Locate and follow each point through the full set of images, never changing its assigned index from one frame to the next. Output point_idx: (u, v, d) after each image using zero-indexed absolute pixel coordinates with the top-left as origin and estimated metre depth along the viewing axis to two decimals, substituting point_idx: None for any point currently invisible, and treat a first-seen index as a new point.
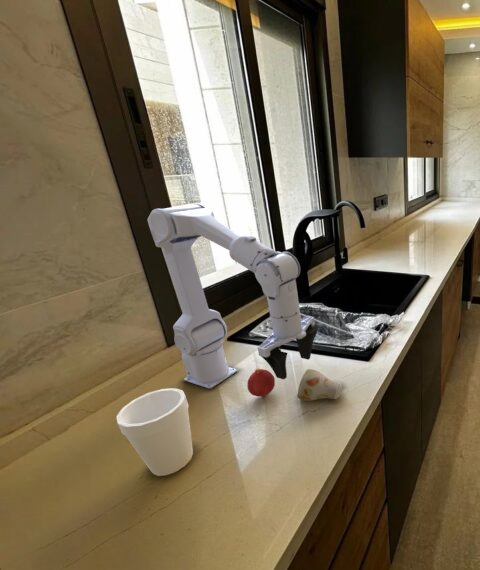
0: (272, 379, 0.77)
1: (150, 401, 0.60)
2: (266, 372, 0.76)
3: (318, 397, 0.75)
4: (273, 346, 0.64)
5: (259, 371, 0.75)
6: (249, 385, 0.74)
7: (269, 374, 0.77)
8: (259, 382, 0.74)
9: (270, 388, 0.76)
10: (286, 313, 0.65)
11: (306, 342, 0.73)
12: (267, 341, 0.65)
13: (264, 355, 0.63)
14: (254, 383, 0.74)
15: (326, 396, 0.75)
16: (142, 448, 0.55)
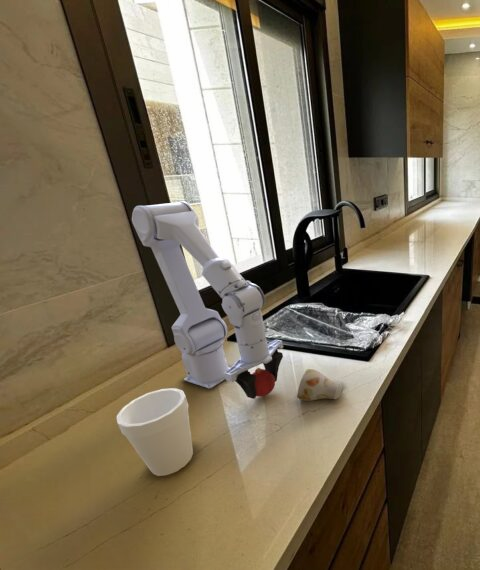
0: (272, 379, 0.77)
1: (150, 401, 0.60)
2: (266, 372, 0.76)
3: (318, 397, 0.75)
4: (239, 371, 0.69)
5: (259, 371, 0.75)
6: None
7: (269, 374, 0.77)
8: (259, 381, 0.74)
9: (270, 388, 0.76)
10: (251, 341, 0.70)
11: (272, 366, 0.78)
12: (234, 366, 0.70)
13: (230, 380, 0.68)
14: None
15: (326, 396, 0.75)
16: (142, 448, 0.55)
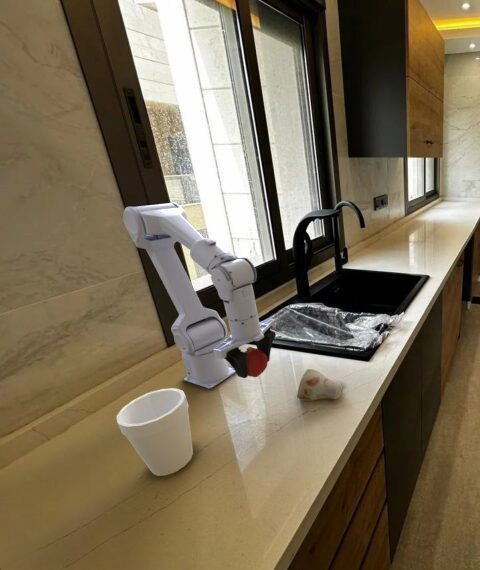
0: (265, 358, 0.74)
1: (150, 401, 0.60)
2: (258, 351, 0.73)
3: (318, 397, 0.75)
4: (229, 348, 0.66)
5: (251, 349, 0.72)
6: None
7: (261, 353, 0.74)
8: (251, 360, 0.71)
9: (262, 367, 0.73)
10: (240, 316, 0.67)
11: (264, 345, 0.75)
12: (224, 343, 0.67)
13: (220, 357, 0.65)
14: (246, 362, 0.71)
15: (326, 396, 0.75)
16: (142, 448, 0.55)
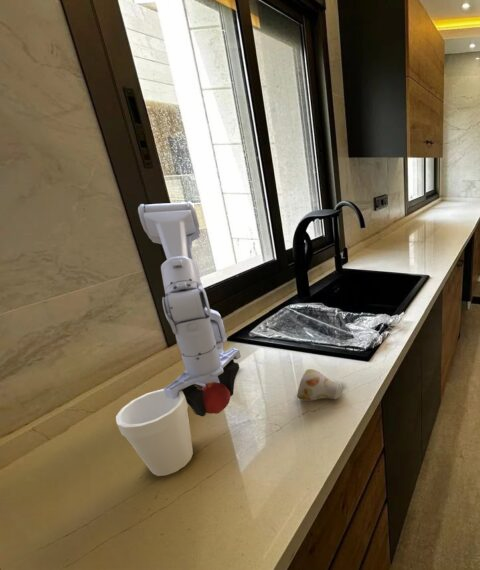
0: (226, 393, 0.68)
1: (150, 401, 0.60)
2: (219, 386, 0.67)
3: (318, 397, 0.75)
4: (181, 387, 0.60)
5: (210, 385, 0.66)
6: None
7: (223, 388, 0.67)
8: (210, 397, 0.65)
9: (223, 404, 0.67)
10: (186, 352, 0.60)
11: (226, 378, 0.69)
12: (177, 380, 0.61)
13: (171, 397, 0.59)
14: (204, 399, 0.65)
15: (326, 396, 0.75)
16: (142, 448, 0.55)
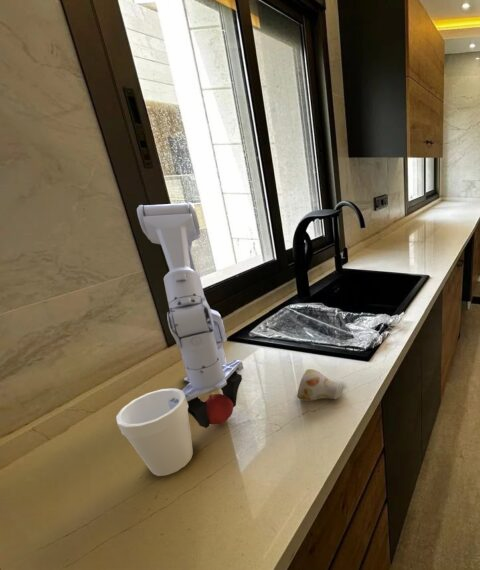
0: (229, 405, 0.69)
1: (150, 401, 0.60)
2: (222, 397, 0.68)
3: (318, 397, 0.75)
4: (186, 399, 0.61)
5: (214, 396, 0.67)
6: None
7: (226, 399, 0.69)
8: (213, 409, 0.66)
9: (227, 415, 0.68)
10: (191, 365, 0.61)
11: (229, 389, 0.70)
12: None
13: None
14: (207, 410, 0.66)
15: (326, 396, 0.75)
16: (142, 448, 0.55)
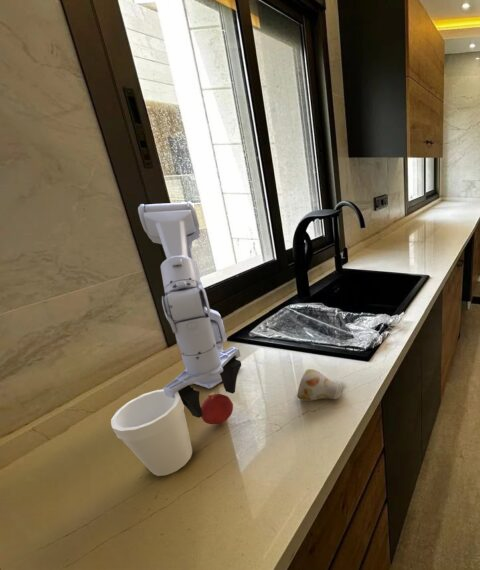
0: (229, 405, 0.69)
1: (145, 402, 0.59)
2: (222, 397, 0.68)
3: (318, 397, 0.75)
4: (181, 386, 0.60)
5: (213, 396, 0.67)
6: (202, 412, 0.66)
7: (225, 399, 0.69)
8: (213, 409, 0.66)
9: (226, 415, 0.68)
10: (186, 351, 0.60)
11: (228, 375, 0.69)
12: (177, 379, 0.61)
13: (170, 396, 0.59)
14: (207, 410, 0.66)
15: (326, 396, 0.75)
16: (139, 450, 0.54)
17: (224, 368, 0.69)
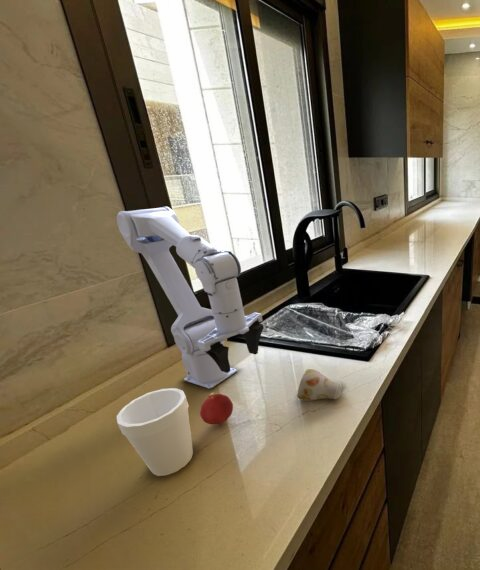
0: (229, 405, 0.69)
1: (150, 401, 0.60)
2: (222, 397, 0.68)
3: (318, 397, 0.75)
4: (213, 341, 0.67)
5: (213, 396, 0.67)
6: (202, 412, 0.66)
7: (225, 399, 0.69)
8: (213, 409, 0.66)
9: (226, 415, 0.68)
10: (224, 309, 0.67)
11: (252, 337, 0.76)
12: (209, 336, 0.68)
13: (204, 349, 0.66)
14: (207, 410, 0.66)
15: (326, 396, 0.75)
16: (142, 448, 0.55)
17: (248, 330, 0.76)
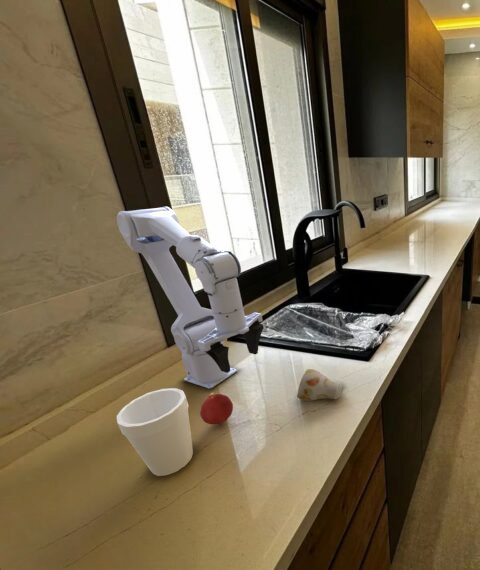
0: (229, 405, 0.69)
1: (150, 401, 0.60)
2: (222, 397, 0.68)
3: (318, 397, 0.75)
4: (213, 341, 0.67)
5: (213, 396, 0.67)
6: (202, 412, 0.66)
7: (225, 399, 0.69)
8: (213, 409, 0.66)
9: (226, 415, 0.68)
10: (224, 309, 0.67)
11: (252, 337, 0.76)
12: (209, 336, 0.68)
13: (204, 349, 0.66)
14: (207, 410, 0.66)
15: (326, 396, 0.75)
16: (142, 448, 0.55)
17: (248, 330, 0.76)
